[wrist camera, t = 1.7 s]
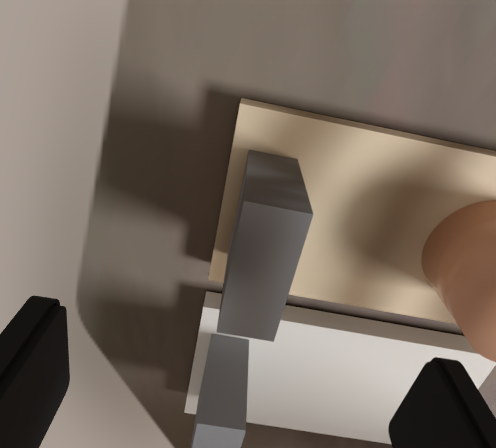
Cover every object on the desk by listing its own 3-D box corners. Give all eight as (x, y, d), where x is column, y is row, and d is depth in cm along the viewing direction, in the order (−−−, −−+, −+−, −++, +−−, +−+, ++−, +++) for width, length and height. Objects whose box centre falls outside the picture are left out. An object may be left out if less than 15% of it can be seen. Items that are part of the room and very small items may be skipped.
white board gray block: (487, 340, 25) (570, 453, 18) (426, 431, 30) (473, 548, 23) (206, 291, 24) (185, 393, 17) (187, 394, 28) (165, 506, 22)
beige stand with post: (600, 173, 19) (777, 248, 13) (502, 317, 24) (595, 428, 17) (241, 97, 18) (230, 137, 12) (211, 265, 23) (190, 363, 16)
